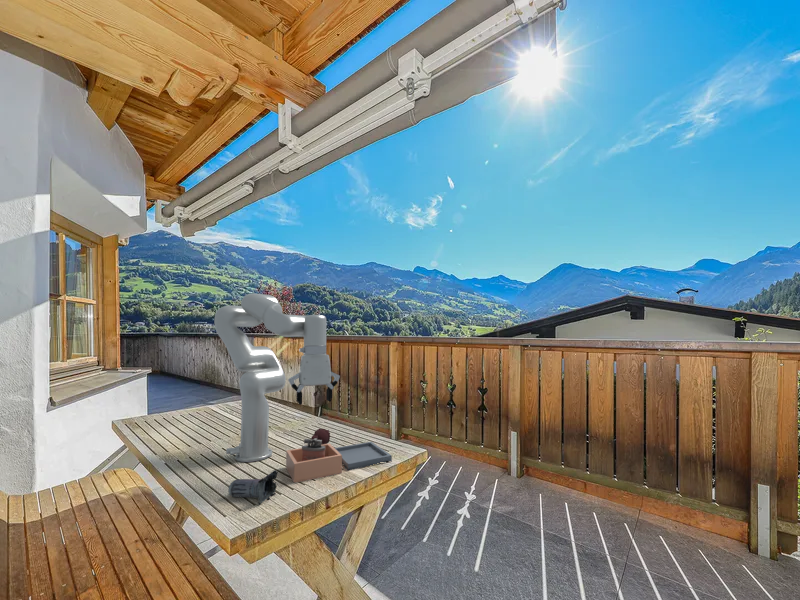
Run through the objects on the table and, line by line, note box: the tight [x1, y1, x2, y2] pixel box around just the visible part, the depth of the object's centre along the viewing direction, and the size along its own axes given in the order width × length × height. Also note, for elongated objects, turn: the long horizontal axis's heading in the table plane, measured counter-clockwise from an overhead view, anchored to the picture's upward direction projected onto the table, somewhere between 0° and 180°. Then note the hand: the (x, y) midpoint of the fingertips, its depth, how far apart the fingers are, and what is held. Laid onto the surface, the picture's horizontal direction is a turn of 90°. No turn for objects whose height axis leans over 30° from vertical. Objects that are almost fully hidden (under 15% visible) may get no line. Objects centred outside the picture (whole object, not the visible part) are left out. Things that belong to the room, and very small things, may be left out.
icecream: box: [310, 428, 331, 445], centre depth 138 cm, size 7×7×15 cm
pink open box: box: [285, 443, 343, 484], centre depth 113 cm, size 15×14×6 cm
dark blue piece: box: [227, 469, 279, 506], centre depth 94 cm, size 9×8×12 cm
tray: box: [334, 441, 393, 471], centre depth 124 cm, size 16×18×2 cm
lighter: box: [301, 438, 325, 461], centre depth 113 cm, size 8×3×10 cm, turn 80°
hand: (314, 402), depth 115 cm, fingers open, 9 cm apart
